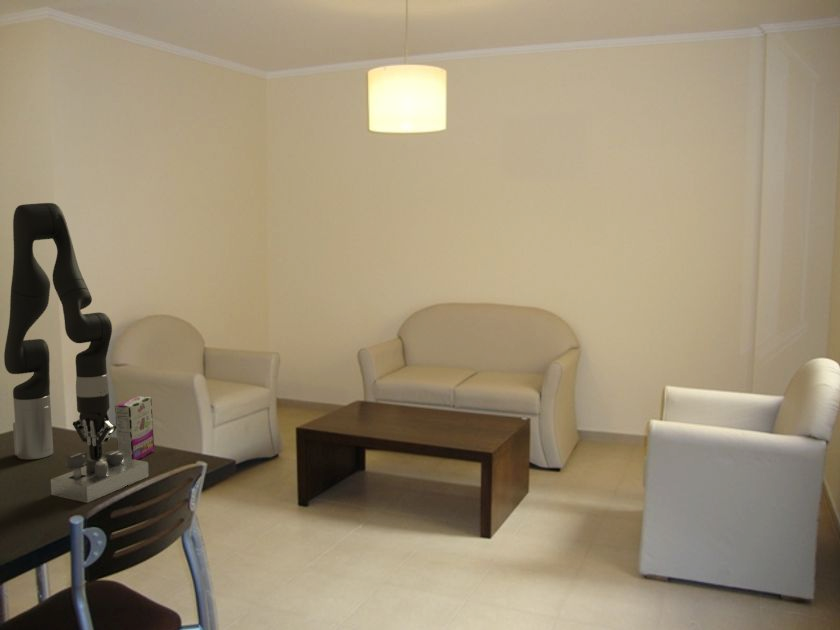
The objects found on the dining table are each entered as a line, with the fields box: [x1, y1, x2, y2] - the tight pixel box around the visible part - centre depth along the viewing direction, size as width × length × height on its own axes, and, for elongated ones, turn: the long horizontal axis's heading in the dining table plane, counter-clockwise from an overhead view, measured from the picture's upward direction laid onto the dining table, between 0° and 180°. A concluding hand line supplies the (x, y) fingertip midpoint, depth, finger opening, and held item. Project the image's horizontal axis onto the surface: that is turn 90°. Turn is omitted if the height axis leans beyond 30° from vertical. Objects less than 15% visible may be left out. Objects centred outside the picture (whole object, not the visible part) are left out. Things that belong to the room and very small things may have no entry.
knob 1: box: [65, 451, 88, 480], centre depth 186 cm, size 5×5×6 cm
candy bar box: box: [114, 395, 155, 461], centre depth 213 cm, size 11×5×16 cm, turn 168°
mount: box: [50, 458, 150, 504], centre depth 191 cm, size 12×20×4 cm, turn 156°
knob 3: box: [104, 449, 125, 466], centre depth 197 cm, size 5×5×6 cm
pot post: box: [95, 461, 108, 478], centre depth 187 cm, size 3×3×4 cm
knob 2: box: [86, 456, 106, 472], centre depth 192 cm, size 5×5×6 cm
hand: (96, 458), depth 191 cm, fingers closed
